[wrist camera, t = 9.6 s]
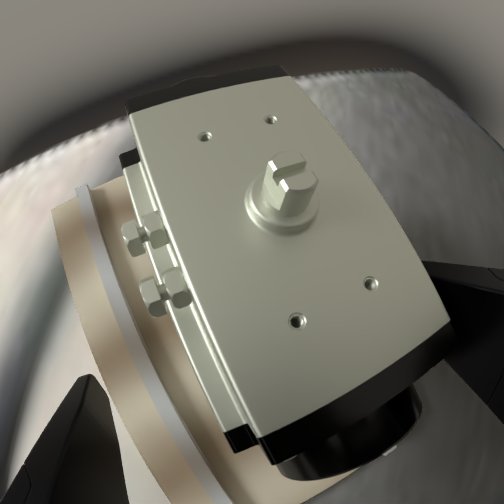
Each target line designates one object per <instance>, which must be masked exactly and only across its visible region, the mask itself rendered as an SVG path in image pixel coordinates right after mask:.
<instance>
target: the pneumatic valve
mask: <svg viewBox="0 0 504 504" xmlns="http://www.w3.org/2000/svg"><path fill="white" fill-rule="evenodd" d="M125 106H126V111H127V115H128V118H129V122H130V126H131V129H132V133H133V137H134V140H135V144H136V148H135V149H133V150H131V151H128V152H125V153H123V154H120V155H119V159H120V162H121V166H122V170H123V174H124V177H125V181H126V185H127V188H128V192H129V195H130V199H131V202H132V205H133V209H134V212H135V215H136V218H137V222H138V225H139V228H138V226H137V223H136V221H135V219H133V220H131V221H128V222H126V223H123V224H121V230H122V234H123V237H124V240H125V243H126V246H127V248H128V250H129V252H130V254H131V256H132V257H137V256H139V255H142V254H144V253H146V249H147V252H148V255H149V258H150V261H151V264H152V267H153V270H154V273H155V275H156V278H157V281H158V284H159V285H158V284H157V282H156V280H155V277H154V275H151V276H149V277H146V278H144V279H142V280H141V281H139V288H140V291H141V294H142V297H143V300H144V302H145V305H146V307H147V309H148V311H149V313H150V315H151V316H152V317H155V318H158V317H161V316H163V315H166V314H168V312H167V308H168V310H169V313H170V316H171V318H172V321H173V323H174V326H175V328H176V331H177V333H178V336H179V338H180V340H181V343H182V345H183V348H184V350H185V352H186V355H187V357H188V359H189V362H190V364H191V366H192V369H193V371H194V373H195V375H196V378H197V380H198V382H199V384H200V386H201V389H202V391H203V393H204V395H205V397H206V399H207V401H208V404H209V406H210V408H211V410H212V412H213V414H214V416H215V418H216V420H217V422H218V424H219V426H220V428H221V430H222V432H223V434H224V436H225V438H226V440H227V442H228V444H229V446H230V448H231V449H232V451H233V453H234V454H236V453H239V452H242V451H244V450H246V449H249V448H251V447H253V446H256V445H259V446H260V448H261V449H262V451H263V453H264V454H265V456H266V458H267V459H268V461H269V462H270V464H271V465H272V466H273V465H276V466H277V468H278V470H279V472H280V473H281V474H282V475H283V476H284V477H286V478H288V479H291V480H296V481H314V480H321V479H326V478H330V477H334V476H338V475H341V474H343V473H346V472H349V471H352V470H354V469H356V468H359V467H361V466H363V465H365V464H367V463H369V462H371V461H373V460H374V459H376V458H378V457H379V456H381V455H382V454H384V453H386V452H387V451H388V450H390V449H391V448H392V447H394V446H395V445H396V444H397V443H399V442H400V441H401V440H402V439H403V438H404V437H405V436H406V435H407V434H408V433H409V432H410V431H411V430H412V428H413V427H414V426H415V424H416V423H417V421H418V419H419V418H420V415H421V412H422V403H421V401H420V399H419V396H418V394H417V392H416V389H415V387H414V385H413V383H414V382H415V381H416V380H418V379H419V378H420V377H421V376H423V375H424V374H425V373H427V372H429V371H430V370H432V369H433V368H434V367H435V366H436V364H438V363H439V362H440V361H441V360H442V359H444V358H445V357H446V356H447V355H448V354H449V353H451V352H452V351H453V350H454V349H455V348H456V347H457V346H458V345H460V344H461V342H460V340H459V338H458V335H457V333H456V331H455V328H454V326H453V324H452V322H451V320H450V317H449V315H448V313H447V311H446V309H445V307H444V305H443V303H442V301H441V299H440V297H439V295H438V293H437V291H436V289H435V287H434V285H433V283H432V281H431V279H430V277H429V275H428V273H427V271H426V269H425V268H424V266H423V264H422V262H421V260H420V258H419V257H418V255H417V253H416V251H415V249H414V248H413V246H412V244H411V242H410V241H409V239H408V237H407V236H406V234H405V232H404V231H403V229H402V227H401V226H400V224H399V222H398V221H397V219H396V217H395V216H394V214H393V212H392V211H391V209H390V208H389V206H388V205H387V203H386V201H385V200H384V198H383V197H382V195H381V194H380V192H379V191H378V189H377V188H376V186H375V185H374V183H373V182H372V180H371V179H370V177H369V176H368V174H367V173H366V171H365V170H364V169H363V167H362V166H361V164H360V163H359V162H358V160H357V159H356V157H355V156H354V155H353V153H352V152H351V150H350V149H349V148H348V146H347V145H346V144H345V142H344V141H343V140H342V138H341V137H340V136H339V134H338V133H337V132H336V130H335V129H334V128H333V127H332V125H331V124H330V123H329V121H328V120H327V119H326V118H325V116H324V115H323V114H322V113H321V111H320V110H319V109H318V108H317V107H316V105H315V104H314V103H313V102H312V101H311V99H310V98H309V97H308V96H307V95H306V93H305V92H304V91H303V90H302V89H301V88H300V86H299V85H298V84H297V83H296V82H295V81H294V80H293V78H292V77H291V76H290V75H289V74H288V73H287V72H286V71H285V70H284V68H283V67H282V66H280V65H276V66H270V67H262V68H256V69H250V70H244V71H238V72H233V73H228V74H223V75H219V76H200V77H194V78H190V79H187V80H184V81H181V82H179V83H177V84H175V85H173V86H171V87H169V88H166V89H162V90H159V91H155V92H152V93H149V94H146V95H142V96H139V97H136V98H133V99H130V100H127V101H126V102H125ZM144 243H145V245H144ZM145 246H146V248H145ZM165 303H166V304H165ZM166 305H167V307H166Z"/></svg>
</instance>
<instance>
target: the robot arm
mask: <svg viewBox="0 0 504 504" xmlns="http://www.w3.org/2000/svg"><path fill="white" fill-rule="evenodd" d="M421 262H422V264H423V266H424V268H425V269H426V271H427V273H428V275H429V277H430V279H431V281H432V283H433V285H434V287H435V289H436V291H437V293H438V295H439V297H440V299H441V301H442V303H443V305H444V307H445V309H446V311H447V313H448V315H449V317H450V320H451V322H452V324H453V326H454V328H455V331H456V333H457V335H458V338H459V340H460V342H461V344H460V345H458V346H457V347H456V348H455V349H454V350H453V351H452V352H451V353H449V354H448V355H447V356H446V357H445V358H444V360H445V361H446V362H447V364H448V365H449V366H450V367H451V368H452V369H453V370H454V371H455V372H456V373H457V374H458V375H459V376H460V377H461V378H462V379H463V380H464V381H465V382H466V383H467V384H468V385H469V387H470V388H471V389H472V390H473V391H474V392H475V393H476V394H477V395H478V396H479V397H480V398H481V399H482V401H483V402H484V403H485V404H486V405H487V406H488V407H489V408H490V410H491V411H492V412H493V413H494V414H495V415H496V416H497V417H498V418H499V420H500V421H501V422H502V423H503V424H504V269H495V268H485V267H476V266H467V265H458V264H449V263H439V262H430V261H421ZM24 464H25V465H24ZM24 464H23V465H22V467H21V468H20V470H19V472H18V474H17V475H16V477H15V479H14V480H13V482H12V484H11V485H10V487H9V489H8V490H7V492H6V493H5V495H4V496H3V498H2V499H1V501H0V504H129V500H128V495H127V490H126V484H125V479H124V473H123V467H122V460H121V453H120V447H119V442H118V438H117V433H116V429H115V425H114V421H113V416H112V412H111V407H110V402H109V398H108V396H107V394H106V392H105V391H104V389H103V388H102V387H101V385H100V384H99V382H98V381H97V379H96V378H95V377H94V376H93V375H92V374H87V375H84V376H81V377H79V378H78V379H77V380H76V382H75V383H74V385H73V386H72V388H71V389H70V391H69V392H68V394H67V395H66V397H65V398H64V400H63V401H62V403H61V404H60V406H59V407H58V409H57V410H56V412H55V413H54V415H53V416H52V418H51V420H50V421H49V423H48V424H47V426H46V427H45V429H44V431H43V432H42V434H41V435H40V437H39V439H38V440H37V442H36V443H35V445H34V447H33V448H32V450H31V452H30V453H29V455H28V457H27V458H26V460H25V462H24Z"/></svg>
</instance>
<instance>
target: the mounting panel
mask: <svg viewBox="0 0 504 504" xmlns="http://www.w3.org/2000/svg"><path fill="white" fill-rule="evenodd" d="M76 193H77V197H75V198H73V199H71V200H69V201H67V202H65V203H63V204H61V205H59V206H57V207H56V208H54V209H52V215H53V221H54V226H55V230H56V235H57V240H58V244H59V248H60V252H61V256H62V260H63V264H64V268H65V272H66V276H67V279H68V283H69V286H70V290H71V293H72V296H73V300H74V303H75V306H76V309H77V312H78V315H79V318H80V321H81V324H82V327H83V330H84V333H85V335H86V338H87V341H88V343H89V346H90V349H91V351H92V354H93V356H94V359H95V361H96V364H97V366H98V369H99V371H100V374H101V376H102V378H103V381H104V383H105V385H106V387H107V390H108V392H109V394H110V396H111V398H112V400H113V403H114V405H115V407H116V409H117V411H118V413H119V415H120V417H121V419H122V421H123V423H124V425H125V427H126V429H127V431H128V433H129V434H130V436H131V438H132V440H133V442H134V444H135V445H136V447H137V449H138V451H139V453H140V454H141V456H142V458H143V460H144V461H145V463H146V465H147V466H148V468H149V470H150V471H151V473H152V474H153V476H154V478H155V479H156V481H157V482H158V484H159V486H160V487H161V489H162V490H163V492H164V493H165V495H166V496H167V498H168V499H169V501H170V502H171V503H172V504H301V503H303V502H304V501H306V500H308V499H310V498H312V497H313V496H315V495H317V494H319V493H320V492H322V491H324V490H325V489H327V488H329V487H330V486H332V485H334V484H335V483H337V482H338V481H340V480H341V479H343V478H345V477H346V476H348V475H349V474H351V473H352V472H354V471H355V470H357V469H358V468H356V469H354V470H352V471H349V472H346V473H343V474H341V475H338V476H334V477H330V478H326V479H321V480H314V481H296V480H291V479H288V478H286V477H284V476H283V475H282V474H281V473H280V472H279V470H278V468H277V466H276V465H273V466H272V465H271V464H270V462H269V461H268V459H267V458H266V456H265V454H264V453H263V451H262V449H261V448H260V446H259V445H256V446H253V447H251V448H249V449H246V450H244V451H242V452H239V453H236V454H234V453H233V451H232V449H231V448H230V446H229V444H228V442H227V440H226V438H225V436H224V434H223V432H222V430H221V428H220V426H219V424H218V422H217V420H216V418H215V416H214V414H213V412H212V410H211V408H210V406H209V404H208V401H207V399H206V397H205V395H204V393H203V391H202V389H201V386H200V384H199V382H198V380H197V378H196V375H195V373H194V371H193V369H192V366H191V364H190V362H189V359H188V357H187V355H186V352H185V350H184V348H183V345H182V343H181V340H180V338H179V336H178V333H177V331H176V328H175V326H174V323H173V321H172V318H171V316H170V313H169V310H168V308H167V312H168V314H166V315H163V316H161V317H158V318H155V317H152V316H151V315H150V313H149V311H148V309H147V307H146V305H145V302H144V300H143V297H142V294H141V291H140V288H139V281H141V280H142V279H144V278H146V277H149V276H151V275H154V277H155V280H156V282H157V284H158V281H157V278H156V275H155V273H154V270H153V267H152V264H151V261H150V258H149V255H148V252H147V249H146V253H144V254H142V255H139V256H137V257H132V256H131V254H130V252H129V250H128V248H127V246H126V243H125V240H124V237H123V234H122V230H121V224H123V223H126V222H128V221H131V220H133V219H135V221H136V223H137V226H138V228H139V225H138V222H137V218H136V215H135V212H134V209H133V205H132V202H131V199H130V195H129V192H128V188H127V185H126V181H125V177H124V175H123V176H120V177H118V178H116V179H114V180H111V181H109V182H107V183H105V184H103V185H100V186H98V187H96V188H94V189H92V190H90V189H89V187H88V185H87V183H86V184H84V185H82V186H80V187H78V188H76ZM144 245H145V243H144ZM145 248H146V246H145ZM158 285H159V284H158ZM165 304H166V303H165ZM166 307H167V305H166ZM417 422H418V421H417ZM395 448H397V446H396V445H395V446H394V447H392V448H391V449H390V450H388V451H387V452H386V453H384V454H383V455H385V456H386V455H388V454H389V453H390V452H391V451H393V450H394V449H395ZM359 468H360V467H359Z"/></svg>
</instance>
